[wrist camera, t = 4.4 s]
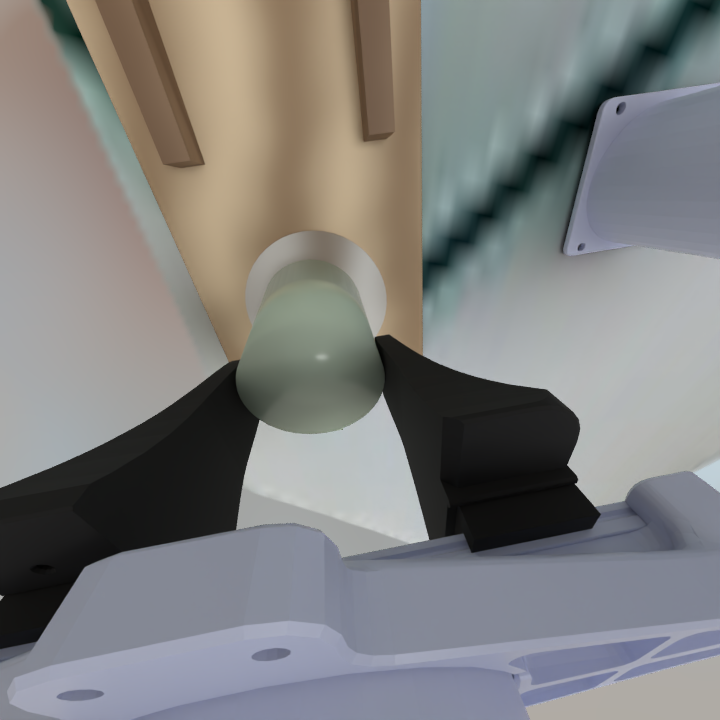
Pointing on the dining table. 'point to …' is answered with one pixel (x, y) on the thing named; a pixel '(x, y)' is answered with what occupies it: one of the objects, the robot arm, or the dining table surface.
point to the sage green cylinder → (310, 352)
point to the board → (275, 142)
